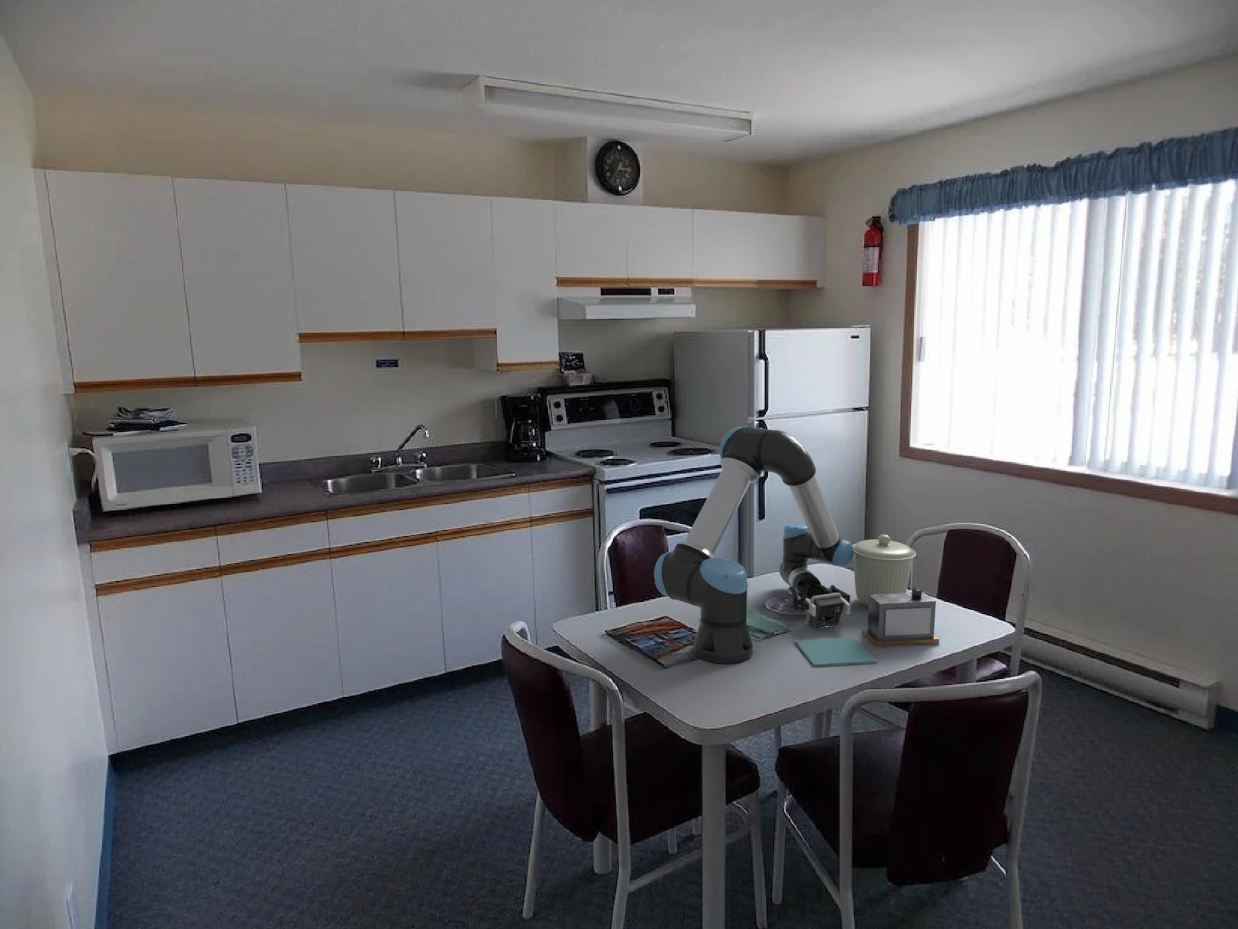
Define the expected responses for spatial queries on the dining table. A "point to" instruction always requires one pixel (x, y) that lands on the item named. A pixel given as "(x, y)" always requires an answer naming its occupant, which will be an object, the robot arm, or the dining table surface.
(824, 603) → the electrical switch
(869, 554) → the canister
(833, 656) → the service mat
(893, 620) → the junction box
